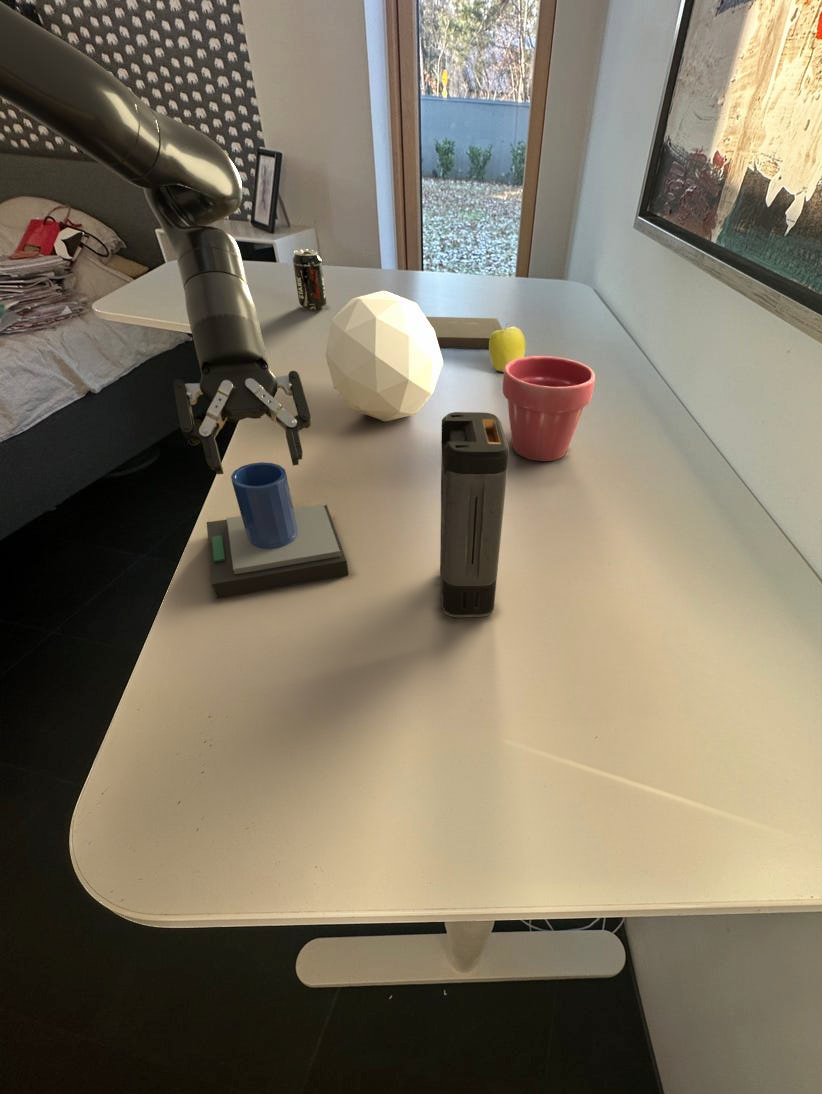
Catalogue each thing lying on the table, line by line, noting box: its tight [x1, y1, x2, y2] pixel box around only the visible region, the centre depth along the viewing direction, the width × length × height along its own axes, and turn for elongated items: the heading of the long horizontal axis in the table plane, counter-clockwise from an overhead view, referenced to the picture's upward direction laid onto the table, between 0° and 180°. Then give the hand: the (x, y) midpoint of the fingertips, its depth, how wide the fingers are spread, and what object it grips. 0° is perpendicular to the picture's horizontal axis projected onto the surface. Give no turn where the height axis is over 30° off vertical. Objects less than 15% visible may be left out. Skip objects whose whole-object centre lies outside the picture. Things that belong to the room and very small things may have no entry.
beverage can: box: [292, 249, 327, 311], centre depth 142 cm, size 7×7×12 cm
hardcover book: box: [425, 316, 503, 350], centre depth 134 cm, size 16×23×2 cm
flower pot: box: [502, 355, 596, 462], centre depth 91 cm, size 14×14×13 cm
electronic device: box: [439, 411, 510, 618], centre depth 61 cm, size 9×6×20 cm, turn 6°
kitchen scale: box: [206, 503, 349, 600], centre depth 70 cm, size 15×13×3 cm
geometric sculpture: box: [325, 290, 444, 422], centre depth 96 cm, size 19×20×20 cm
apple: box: [488, 324, 526, 373], centre depth 119 cm, size 8×8×10 cm
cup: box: [230, 461, 298, 549], centre depth 66 cm, size 6×6×8 cm
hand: (258, 467), depth 66 cm, fingers open, 8 cm apart
